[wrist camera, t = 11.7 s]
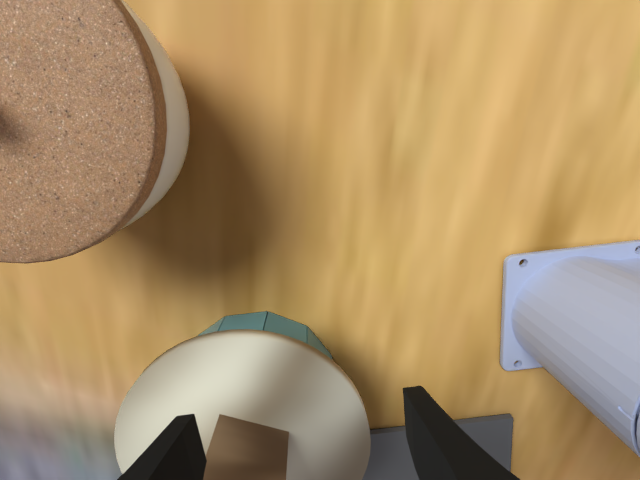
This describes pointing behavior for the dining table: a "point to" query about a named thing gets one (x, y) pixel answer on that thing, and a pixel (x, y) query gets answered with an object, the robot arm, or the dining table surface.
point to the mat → (396, 461)
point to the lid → (251, 408)
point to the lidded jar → (82, 125)
